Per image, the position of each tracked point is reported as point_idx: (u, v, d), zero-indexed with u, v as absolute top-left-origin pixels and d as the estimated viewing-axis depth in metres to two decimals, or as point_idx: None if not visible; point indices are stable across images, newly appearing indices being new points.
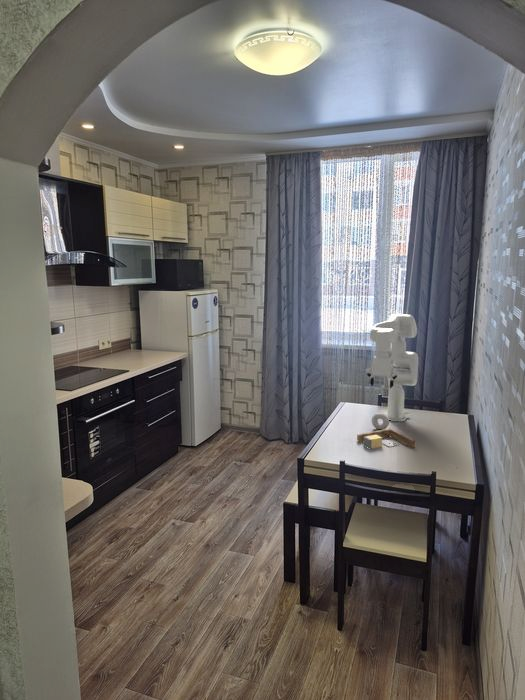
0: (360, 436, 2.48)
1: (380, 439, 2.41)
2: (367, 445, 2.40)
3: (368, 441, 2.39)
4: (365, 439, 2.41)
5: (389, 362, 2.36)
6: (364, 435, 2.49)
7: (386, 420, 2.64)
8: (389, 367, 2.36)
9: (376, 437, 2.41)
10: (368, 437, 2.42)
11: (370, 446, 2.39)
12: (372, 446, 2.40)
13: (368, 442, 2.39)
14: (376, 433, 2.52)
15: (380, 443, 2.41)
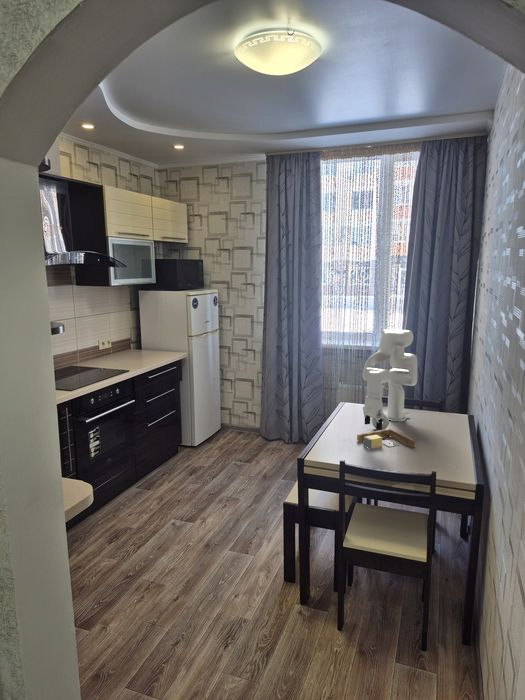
0: (360, 436, 2.48)
1: (380, 439, 2.41)
2: (367, 445, 2.40)
3: (368, 441, 2.39)
4: (365, 439, 2.41)
5: None
6: (364, 435, 2.49)
7: (386, 420, 2.64)
8: None
9: (376, 437, 2.42)
10: (368, 437, 2.42)
11: (370, 446, 2.39)
12: (372, 446, 2.40)
13: (368, 442, 2.39)
14: (376, 433, 2.52)
15: (380, 443, 2.41)
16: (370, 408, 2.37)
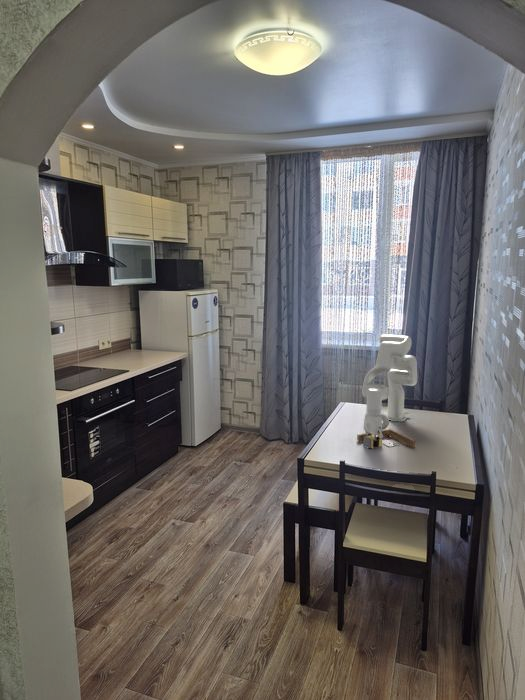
0: (360, 436, 2.48)
1: (380, 439, 2.41)
2: (367, 445, 2.40)
3: (368, 441, 2.39)
4: (365, 439, 2.41)
5: None
6: (364, 435, 2.49)
7: (386, 420, 2.64)
8: None
9: None
10: (368, 437, 2.42)
11: (370, 446, 2.39)
12: (372, 446, 2.40)
13: (368, 442, 2.39)
14: None
15: (380, 443, 2.41)
16: (370, 425, 2.39)
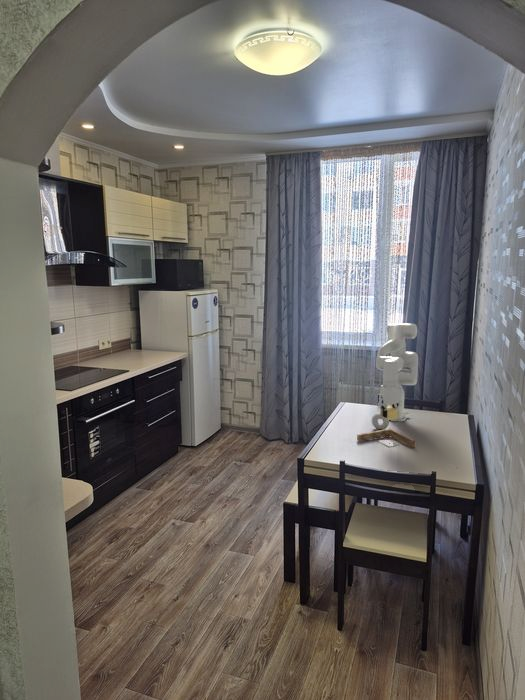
0: (360, 436, 2.48)
1: (389, 411, 2.40)
2: None
3: None
4: None
5: (398, 389, 2.41)
6: (364, 435, 2.49)
7: (386, 420, 2.64)
8: (398, 394, 2.42)
9: (389, 409, 2.42)
10: (387, 406, 2.46)
11: (381, 413, 2.46)
12: None
13: None
14: (376, 433, 2.52)
15: (388, 416, 2.40)
16: None
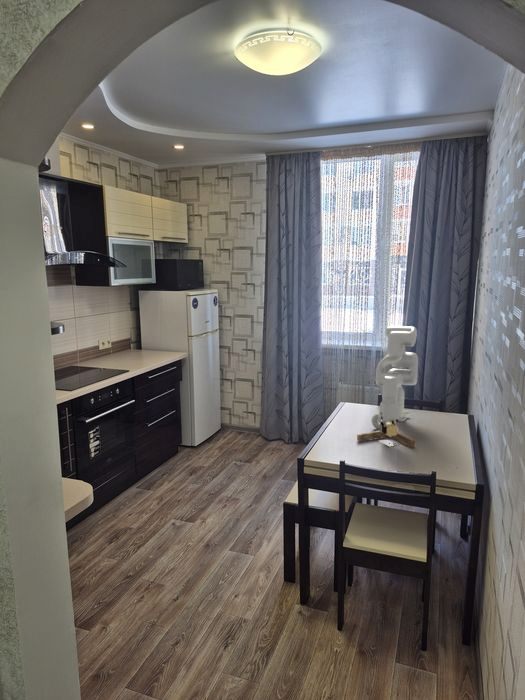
0: (360, 436, 2.48)
1: (388, 428, 2.41)
2: None
3: None
4: None
5: (397, 406, 2.43)
6: (364, 435, 2.49)
7: None
8: (398, 410, 2.43)
9: (388, 425, 2.43)
10: None
11: (380, 429, 2.47)
12: None
13: None
14: (376, 433, 2.52)
15: (388, 432, 2.42)
16: None
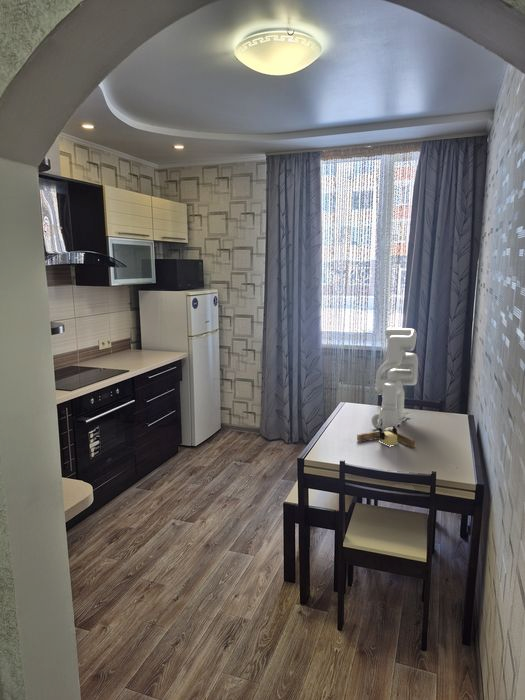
0: (360, 436, 2.48)
1: (388, 437, 2.42)
2: None
3: None
4: None
5: (397, 412, 2.44)
6: (364, 435, 2.49)
7: None
8: (397, 417, 2.44)
9: (388, 434, 2.44)
10: (386, 432, 2.48)
11: None
12: (381, 440, 2.47)
13: None
14: (376, 433, 2.52)
15: (388, 441, 2.43)
16: None
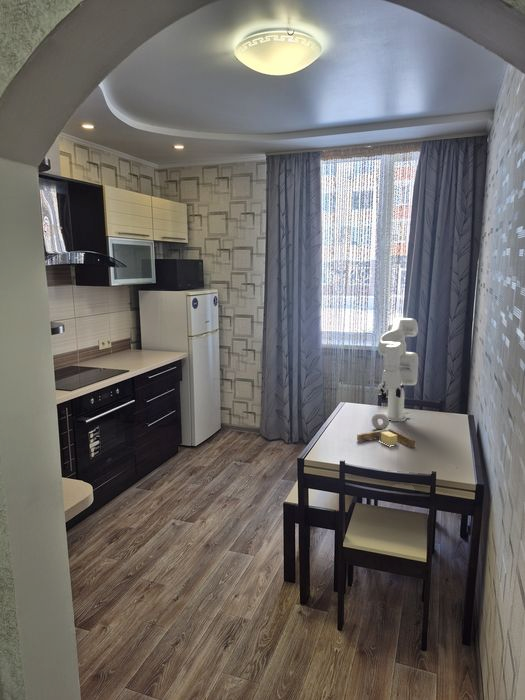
0: (360, 436, 2.48)
1: (388, 437, 2.42)
2: None
3: None
4: None
5: (400, 374, 2.47)
6: (364, 435, 2.49)
7: (386, 420, 2.64)
8: (400, 378, 2.48)
9: (388, 434, 2.44)
10: (386, 432, 2.48)
11: (380, 438, 2.49)
12: (381, 440, 2.47)
13: None
14: (376, 433, 2.52)
15: (388, 441, 2.43)
16: None
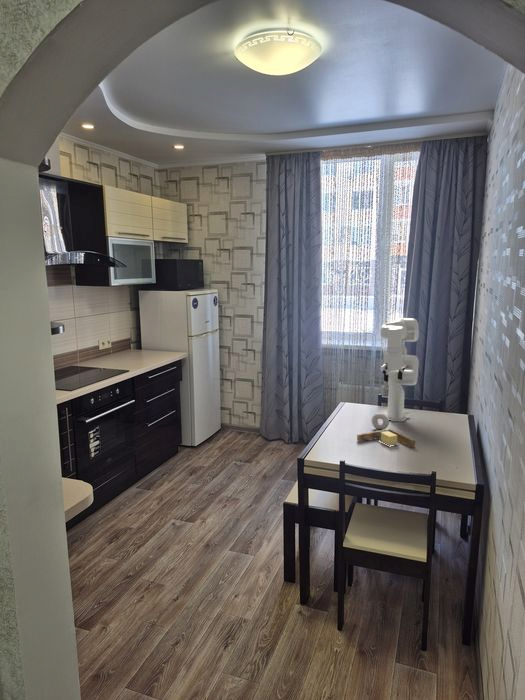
0: (360, 436, 2.48)
1: (388, 437, 2.42)
2: None
3: None
4: None
5: (402, 356, 2.56)
6: (364, 435, 2.49)
7: (386, 420, 2.64)
8: (402, 361, 2.56)
9: (388, 434, 2.44)
10: (386, 432, 2.48)
11: (380, 438, 2.49)
12: (381, 440, 2.47)
13: None
14: (376, 433, 2.52)
15: (388, 441, 2.43)
16: None
